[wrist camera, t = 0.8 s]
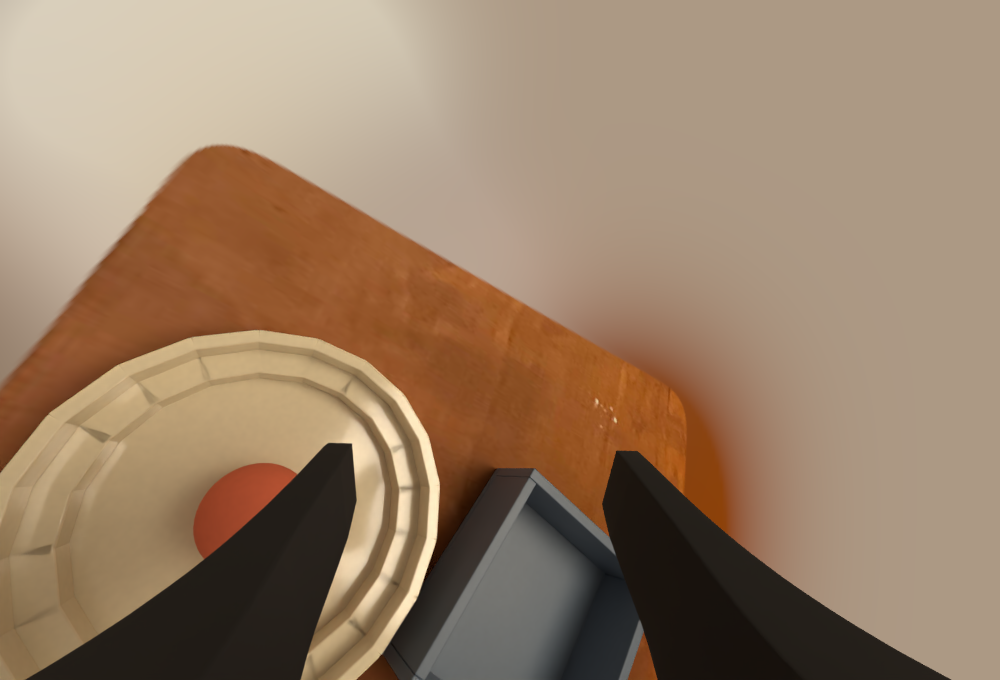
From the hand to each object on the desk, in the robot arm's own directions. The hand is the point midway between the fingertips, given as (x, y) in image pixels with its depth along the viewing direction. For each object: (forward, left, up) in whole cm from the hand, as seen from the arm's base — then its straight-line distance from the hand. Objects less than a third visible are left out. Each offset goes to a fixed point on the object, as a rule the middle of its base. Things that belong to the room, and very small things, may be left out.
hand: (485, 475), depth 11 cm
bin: (-1, -12, -14) cm, 18 cm away
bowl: (-5, +3, -14) cm, 15 cm away
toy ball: (-5, +3, -14) cm, 15 cm away
